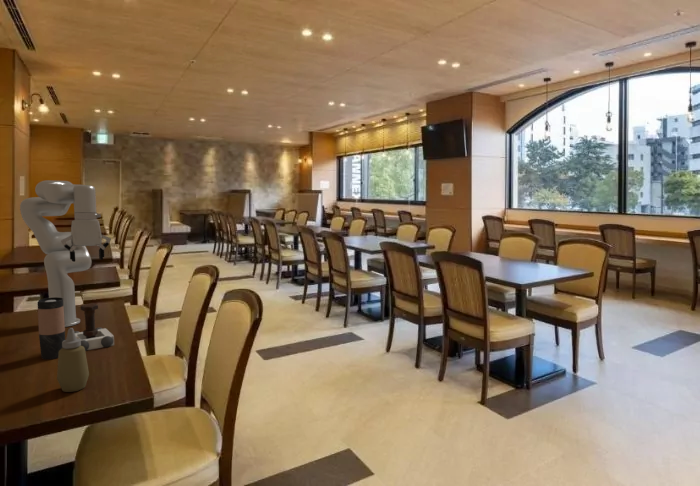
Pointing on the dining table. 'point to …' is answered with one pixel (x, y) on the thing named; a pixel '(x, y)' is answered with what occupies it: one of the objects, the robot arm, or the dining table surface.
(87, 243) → the robot arm
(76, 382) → the squeeze bottle
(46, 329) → the travel mug
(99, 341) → the chassis
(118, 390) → the dining table surface
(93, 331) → the bolt
